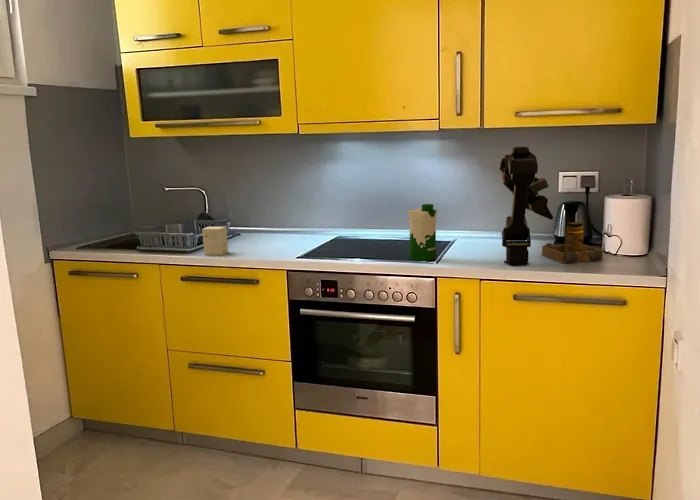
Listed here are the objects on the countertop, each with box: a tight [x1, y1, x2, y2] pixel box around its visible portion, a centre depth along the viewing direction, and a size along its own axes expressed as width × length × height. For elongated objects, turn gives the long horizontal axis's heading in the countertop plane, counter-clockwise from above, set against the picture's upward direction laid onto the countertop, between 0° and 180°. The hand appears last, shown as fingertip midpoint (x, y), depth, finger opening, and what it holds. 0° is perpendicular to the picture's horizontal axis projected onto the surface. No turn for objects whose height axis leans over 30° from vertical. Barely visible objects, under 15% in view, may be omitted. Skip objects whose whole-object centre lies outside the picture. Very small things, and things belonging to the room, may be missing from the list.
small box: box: [201, 226, 229, 256], centre depth 247 cm, size 8×6×10 cm
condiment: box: [564, 221, 584, 253], centre depth 217 cm, size 7×8×12 cm
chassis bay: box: [541, 242, 604, 264], centre depth 218 cm, size 15×16×4 cm
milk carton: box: [407, 203, 438, 262], centre depth 222 cm, size 9×9×20 cm
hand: (548, 216), depth 224 cm, fingers open, 9 cm apart
